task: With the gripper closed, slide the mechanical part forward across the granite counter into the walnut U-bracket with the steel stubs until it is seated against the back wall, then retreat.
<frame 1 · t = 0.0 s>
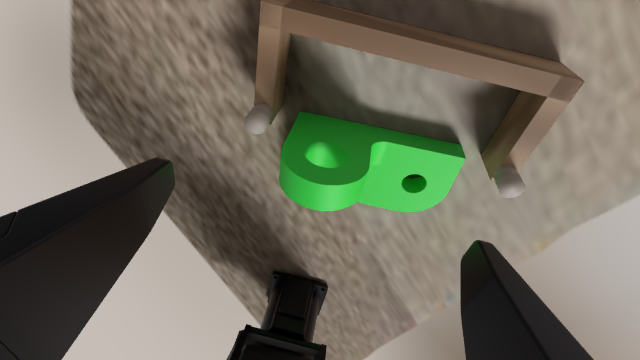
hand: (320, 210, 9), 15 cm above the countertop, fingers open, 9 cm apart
dock bracket: (392, 99, 22), on the countertop
mechanical part: (370, 157, 26), on the countertop
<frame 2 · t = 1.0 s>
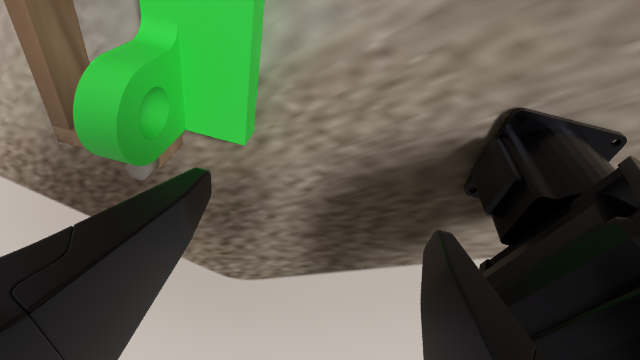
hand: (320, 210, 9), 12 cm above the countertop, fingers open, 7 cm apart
dock bracket: (129, 10, 19), on the countertop
mechanical part: (213, 29, 19), on the countertop
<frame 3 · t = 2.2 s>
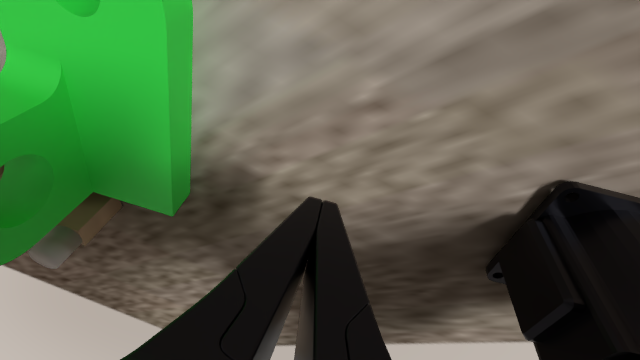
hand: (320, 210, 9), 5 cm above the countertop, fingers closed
dock bracket: (22, 45, 13), on the countertop
mechanical part: (127, 66, 14), on the countertop
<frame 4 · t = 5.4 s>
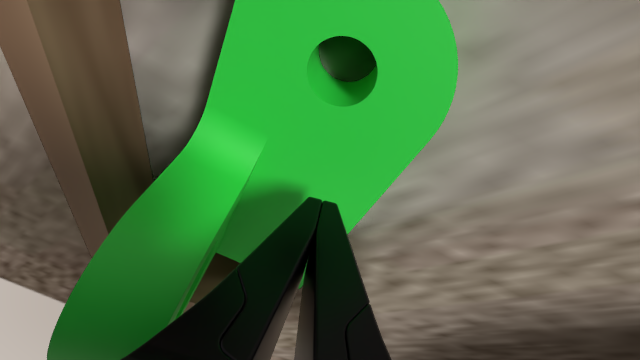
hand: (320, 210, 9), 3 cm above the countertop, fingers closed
dock bracket: (230, 126, 12), on the countertop
mechanical part: (304, 131, 12), on the countertop, touching gripper
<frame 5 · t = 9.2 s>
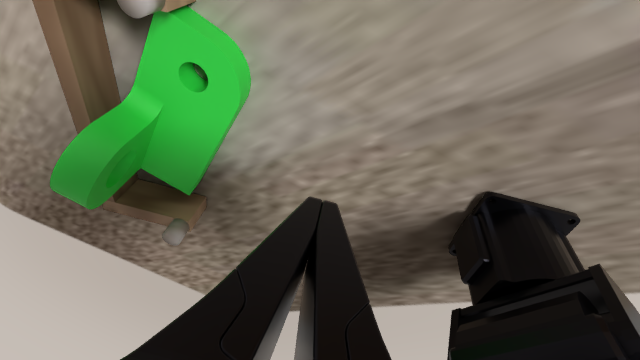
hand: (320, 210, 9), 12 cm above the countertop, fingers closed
dock bracket: (167, 110, 23), on the countertop
mechanical part: (192, 104, 23), on the countertop
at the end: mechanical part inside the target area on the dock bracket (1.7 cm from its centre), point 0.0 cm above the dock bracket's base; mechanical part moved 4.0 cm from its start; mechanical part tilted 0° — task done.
